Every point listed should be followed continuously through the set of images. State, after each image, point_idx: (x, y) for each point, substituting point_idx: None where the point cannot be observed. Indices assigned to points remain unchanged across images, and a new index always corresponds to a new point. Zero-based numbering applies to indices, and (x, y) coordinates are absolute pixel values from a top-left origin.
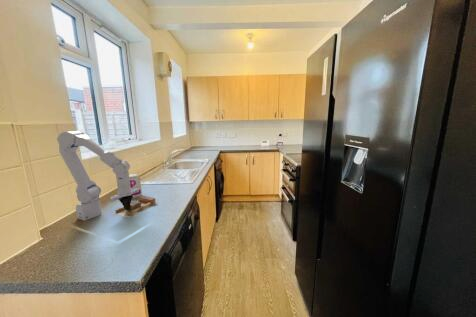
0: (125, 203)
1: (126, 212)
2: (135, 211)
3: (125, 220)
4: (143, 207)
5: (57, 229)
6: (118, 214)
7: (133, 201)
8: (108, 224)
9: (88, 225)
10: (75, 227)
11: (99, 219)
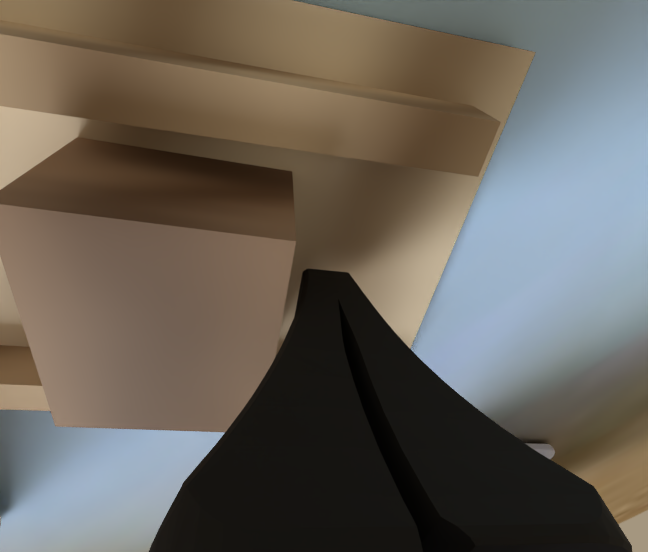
0: (447, 393)
1: (340, 268)
2: (322, 84)
3: (550, 93)
4: (58, 36)
5: (622, 494)
6: (419, 320)
7: (92, 390)
8: (637, 247)
9: (607, 397)
10: (620, 442)
11: (491, 408)
